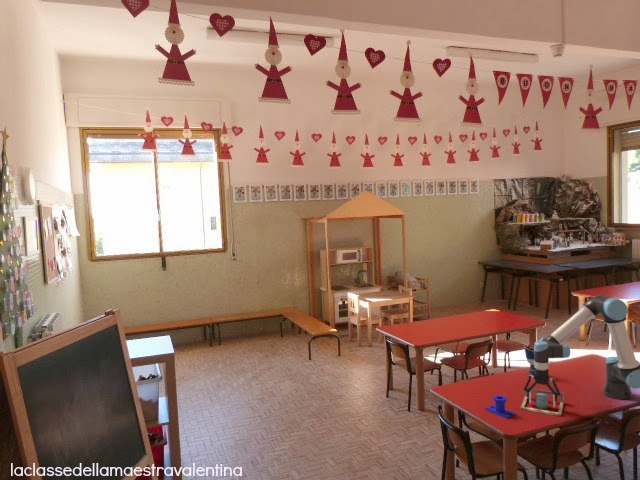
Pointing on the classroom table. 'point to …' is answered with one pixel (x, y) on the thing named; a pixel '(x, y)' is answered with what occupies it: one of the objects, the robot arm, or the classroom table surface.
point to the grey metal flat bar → (546, 392)
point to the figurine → (530, 359)
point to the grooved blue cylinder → (541, 401)
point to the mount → (500, 407)
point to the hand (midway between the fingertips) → (542, 404)
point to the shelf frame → (541, 410)
